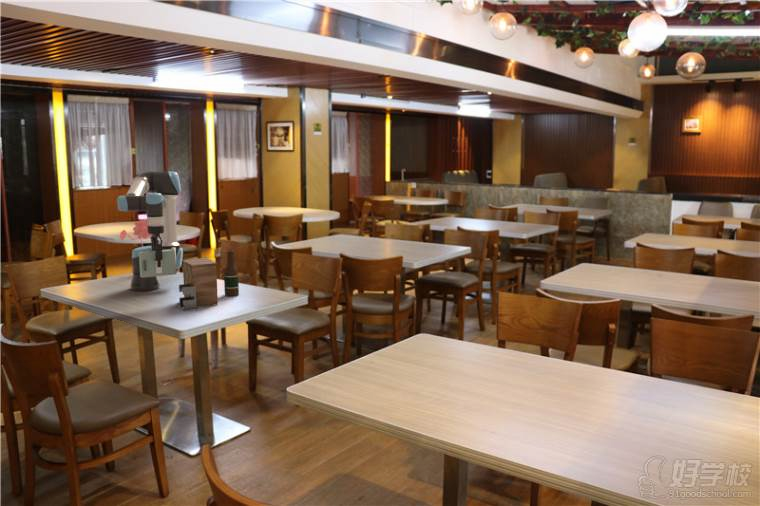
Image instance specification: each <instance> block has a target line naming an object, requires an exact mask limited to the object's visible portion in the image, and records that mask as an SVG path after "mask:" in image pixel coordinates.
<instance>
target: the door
mask: <svg viewBox="0 0 760 506" xmlns="http://www.w3.org/2000/svg"><path fill="white" fill-rule="evenodd" d="M162 256H163V259H162V273H158V274H156V262H155V259H156V254H155V251H145V252H139V263H140V276H141V277H142V278H144V277H154V276H156V277H158V276H160V277H161V276H162V277H163V276H173V275H177V270H178V269H176V248H171V249H170V250H162Z"/></svg>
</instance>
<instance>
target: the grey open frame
mask: <svg viewBox="0 0 760 506" xmlns="http://www.w3.org/2000/svg"><path fill="white" fill-rule="evenodd" d="M178 292H179V293H182V295H183V297H179V308H180V309H183V312H185V311H194V310H197V307H196V285H194V284H193V283H189V284H184V283H181V284H178ZM186 294H190V297H184V295H186Z"/></svg>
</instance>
